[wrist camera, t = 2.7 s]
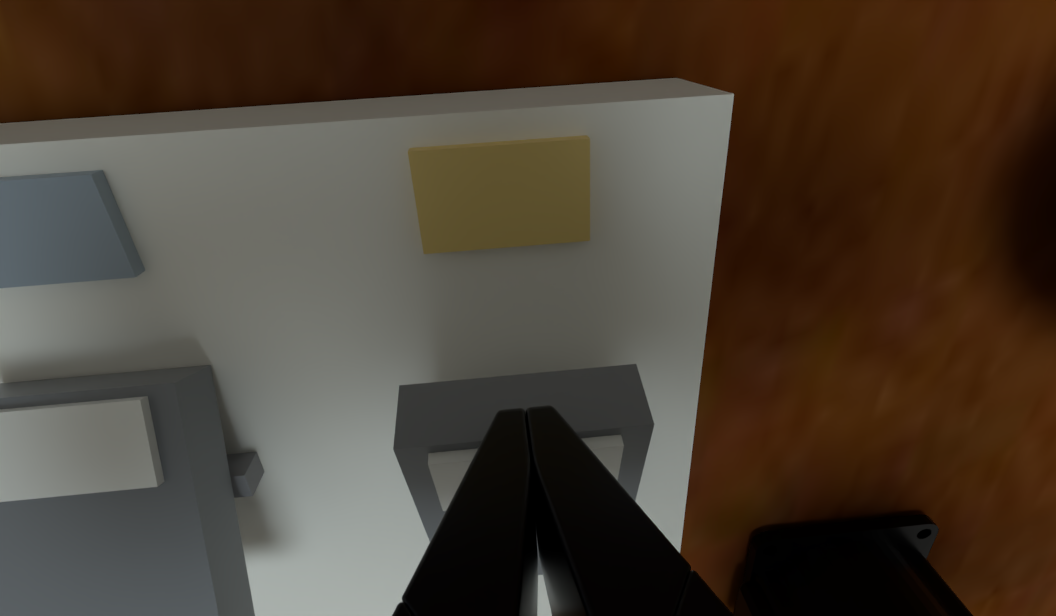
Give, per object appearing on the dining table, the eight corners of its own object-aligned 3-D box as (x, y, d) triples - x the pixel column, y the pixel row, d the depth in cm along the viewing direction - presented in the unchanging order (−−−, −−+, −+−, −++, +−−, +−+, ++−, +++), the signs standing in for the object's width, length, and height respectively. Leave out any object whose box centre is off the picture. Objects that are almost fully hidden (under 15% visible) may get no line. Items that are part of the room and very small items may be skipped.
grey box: (210, 364, 11) (167, 385, 9) (258, 635, 12) (226, 691, 10) (-1, 383, 10) (-76, 407, 9) (65, 656, 11) (6, 715, 10)
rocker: (636, 363, 9) (658, 435, 8) (608, 515, 13) (620, 575, 12) (399, 385, 9) (391, 461, 8) (447, 532, 13) (447, 593, 12)
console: (676, 77, 12) (752, 99, 8) (645, 523, 18) (681, 632, 15) (-520, 159, 11) (-963, 218, 7) (-95, 601, 17) (-229, 736, 14)
